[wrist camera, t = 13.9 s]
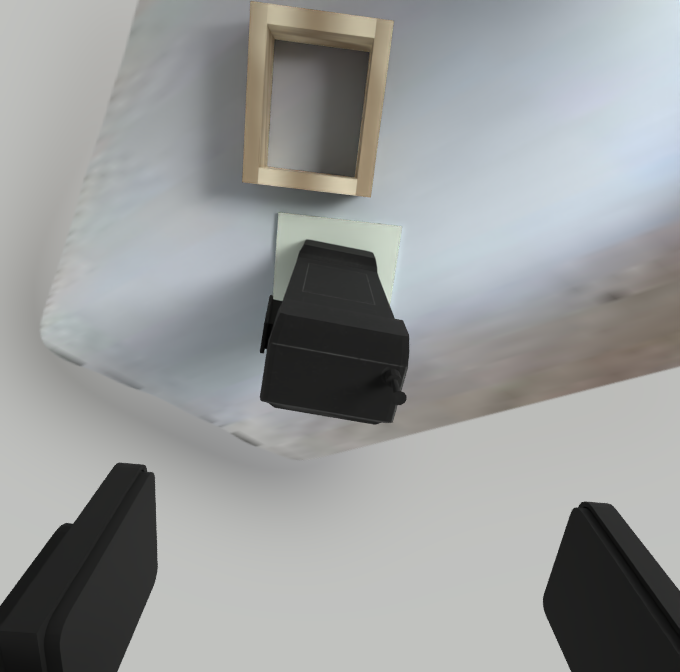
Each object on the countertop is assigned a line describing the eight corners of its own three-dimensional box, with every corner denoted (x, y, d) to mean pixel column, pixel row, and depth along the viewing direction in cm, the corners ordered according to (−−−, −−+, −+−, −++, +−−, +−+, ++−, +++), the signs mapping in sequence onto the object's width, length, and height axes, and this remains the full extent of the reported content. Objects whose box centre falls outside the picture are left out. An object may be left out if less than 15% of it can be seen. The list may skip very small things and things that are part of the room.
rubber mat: (401, 226, 44) (402, 226, 44) (383, 340, 48) (384, 342, 48) (279, 212, 44) (278, 212, 43) (270, 328, 47) (270, 330, 47)
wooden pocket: (386, 37, 39) (393, 20, 34) (366, 193, 43) (370, 197, 38) (260, 20, 39) (250, 1, 34) (252, 179, 43) (242, 182, 38)
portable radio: (280, 299, 46) (225, 448, 22) (291, 235, 44) (243, 325, 20) (363, 314, 47) (393, 475, 23) (377, 252, 45) (425, 358, 21)
